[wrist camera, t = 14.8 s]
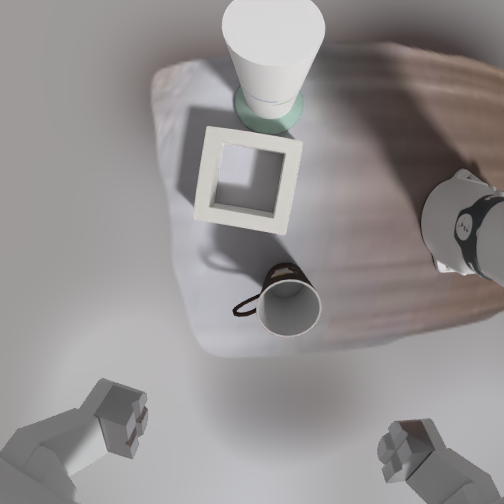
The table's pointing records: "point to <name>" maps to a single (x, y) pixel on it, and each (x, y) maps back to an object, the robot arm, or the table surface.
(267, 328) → the coffee mug
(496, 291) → the table surface
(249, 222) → the holder
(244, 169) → the table surface
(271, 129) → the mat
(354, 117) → the table surface
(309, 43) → the cylindrical container
